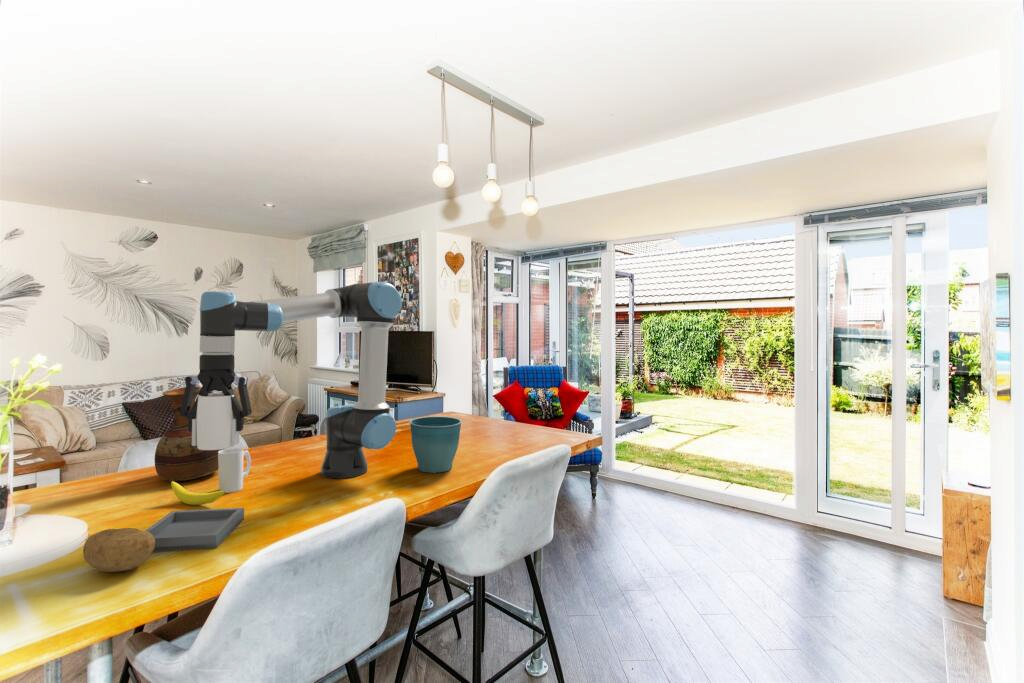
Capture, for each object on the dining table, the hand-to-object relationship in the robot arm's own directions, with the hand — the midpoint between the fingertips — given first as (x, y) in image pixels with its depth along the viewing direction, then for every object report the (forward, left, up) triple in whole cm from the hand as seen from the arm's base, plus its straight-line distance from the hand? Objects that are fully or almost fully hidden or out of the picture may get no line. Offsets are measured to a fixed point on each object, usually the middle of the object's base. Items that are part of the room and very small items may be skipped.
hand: (215, 444), depth 124 cm
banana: (+11, -16, -21) cm, 28 cm away
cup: (0, 0, -2) cm, 2 cm away
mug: (+6, -30, -21) cm, 37 cm away
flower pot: (-55, -43, -21) cm, 73 cm away
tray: (+3, +5, -21) cm, 21 cm away
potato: (+10, +21, -21) cm, 31 cm away
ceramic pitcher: (+25, -45, -21) cm, 55 cm away
